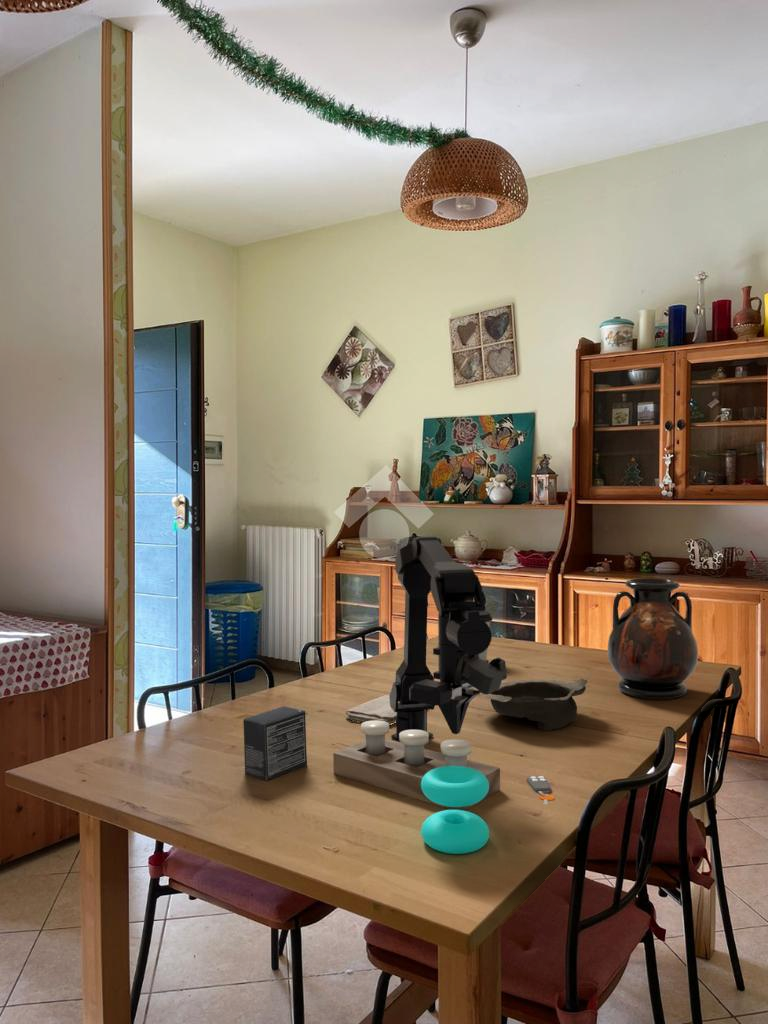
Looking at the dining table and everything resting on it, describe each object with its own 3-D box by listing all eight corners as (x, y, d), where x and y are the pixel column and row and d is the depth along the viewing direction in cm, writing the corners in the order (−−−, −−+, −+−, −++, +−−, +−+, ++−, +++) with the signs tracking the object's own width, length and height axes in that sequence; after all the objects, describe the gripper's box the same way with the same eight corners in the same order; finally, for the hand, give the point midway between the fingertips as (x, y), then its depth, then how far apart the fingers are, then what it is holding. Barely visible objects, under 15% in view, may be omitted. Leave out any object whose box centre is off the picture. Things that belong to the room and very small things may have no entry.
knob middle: (411, 755, 144) (411, 727, 144) (434, 762, 141) (434, 733, 141) (393, 763, 140) (393, 734, 140) (417, 770, 137) (416, 740, 137)
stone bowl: (594, 738, 163) (591, 693, 162) (473, 740, 168) (469, 697, 167) (588, 703, 187) (585, 664, 187) (482, 706, 192) (479, 668, 192)
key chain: (524, 782, 141) (524, 774, 141) (544, 782, 141) (544, 773, 141) (543, 813, 128) (543, 804, 128) (565, 812, 128) (565, 803, 128)
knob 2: (452, 766, 138) (452, 737, 138) (477, 773, 135) (477, 743, 135) (434, 775, 134) (434, 745, 134) (460, 782, 131) (460, 751, 131)
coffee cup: (455, 661, 235) (455, 611, 234) (484, 659, 237) (484, 609, 237) (468, 668, 226) (467, 616, 225) (498, 665, 228) (497, 614, 228)
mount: (375, 755, 154) (375, 736, 154) (500, 789, 136) (499, 768, 136) (333, 773, 145) (333, 752, 145) (461, 812, 127) (460, 789, 127)
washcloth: (342, 722, 178) (342, 708, 177) (385, 703, 193) (385, 690, 193) (387, 730, 171) (387, 716, 171) (428, 710, 186) (427, 697, 186)
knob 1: (373, 745, 150) (373, 718, 150) (395, 751, 147) (394, 723, 146) (355, 753, 146) (355, 725, 146) (377, 759, 143) (376, 730, 142)
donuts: (502, 774, 117) (458, 793, 110) (503, 841, 117) (459, 864, 110) (451, 758, 124) (406, 775, 117) (451, 821, 124) (407, 841, 117)
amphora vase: (684, 682, 208) (684, 576, 207) (709, 705, 187) (710, 586, 186) (600, 680, 210) (600, 575, 209) (616, 703, 189) (616, 586, 188)
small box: (284, 758, 153) (283, 704, 153) (308, 765, 149) (307, 710, 149) (242, 773, 145) (241, 717, 145) (266, 782, 141) (265, 723, 141)
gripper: (464, 658, 122) (464, 758, 122) (524, 639, 136) (524, 729, 137) (407, 649, 129) (407, 744, 129) (470, 631, 143) (470, 717, 144)
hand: (455, 733), depth 135 cm, fingers closed
